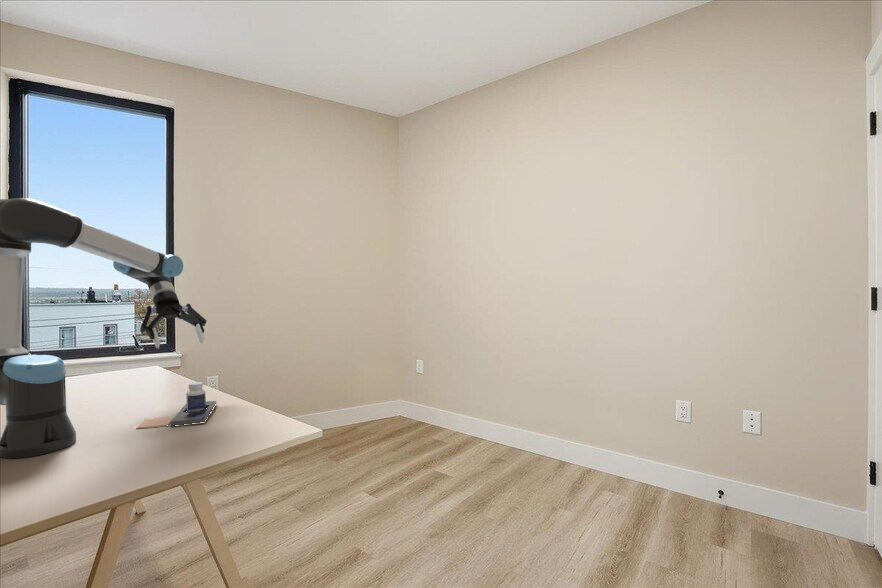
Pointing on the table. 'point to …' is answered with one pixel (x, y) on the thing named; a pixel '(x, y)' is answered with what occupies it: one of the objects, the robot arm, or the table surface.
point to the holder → (192, 415)
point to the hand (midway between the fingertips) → (181, 343)
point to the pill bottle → (196, 397)
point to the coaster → (155, 422)
